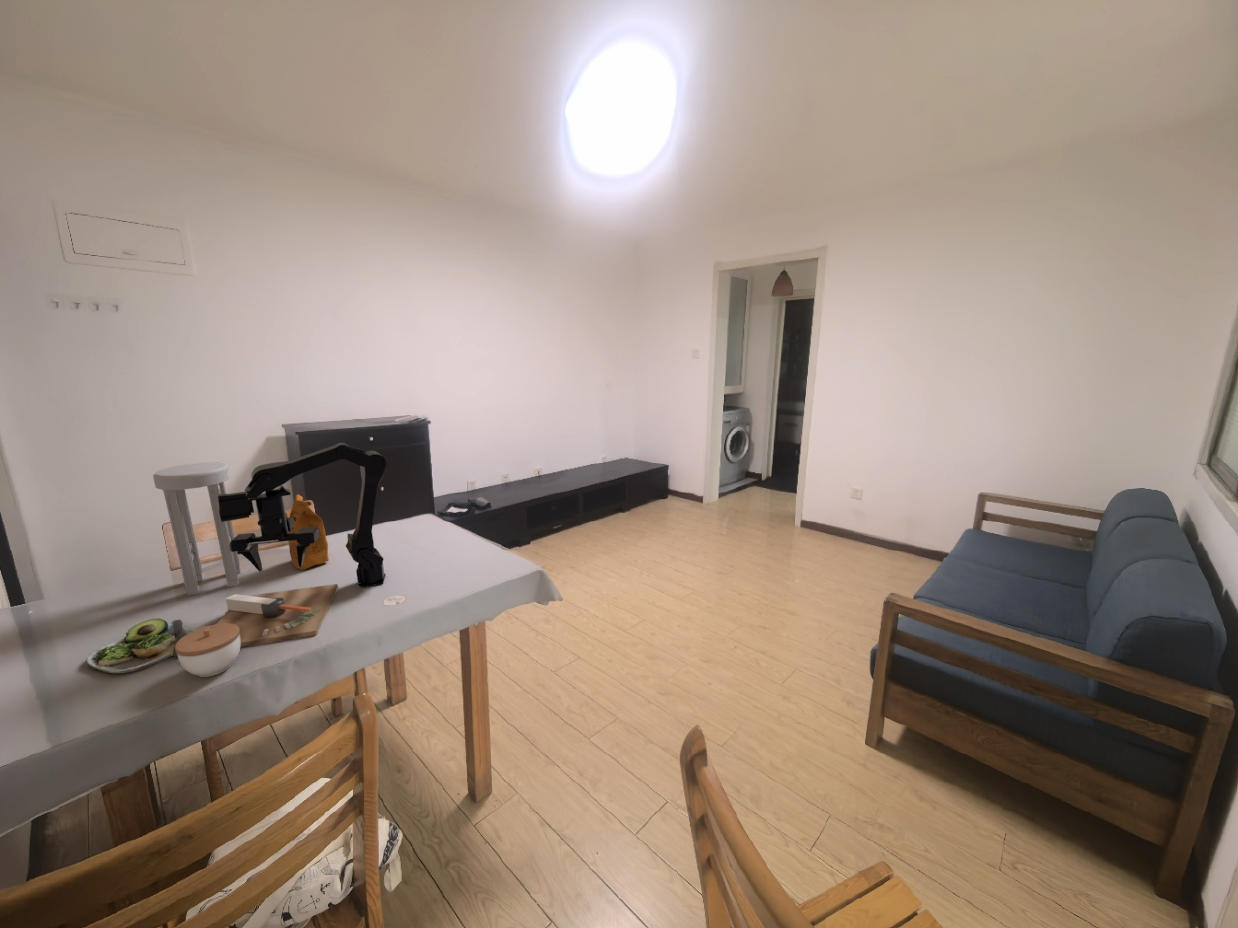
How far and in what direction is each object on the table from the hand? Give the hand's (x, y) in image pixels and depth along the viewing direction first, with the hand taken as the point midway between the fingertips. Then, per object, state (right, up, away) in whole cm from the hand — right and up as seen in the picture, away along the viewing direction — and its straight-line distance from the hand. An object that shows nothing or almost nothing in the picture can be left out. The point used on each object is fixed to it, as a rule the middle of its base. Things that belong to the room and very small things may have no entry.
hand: (281, 568), depth 129 cm
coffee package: (-10, -4, +28) cm, 30 cm away
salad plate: (-19, -16, -17) cm, 30 cm away
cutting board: (+1, -12, -4) cm, 13 cm away
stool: (-29, -7, +14) cm, 34 cm away
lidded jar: (+2, -17, -23) cm, 29 cm away
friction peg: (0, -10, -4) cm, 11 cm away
